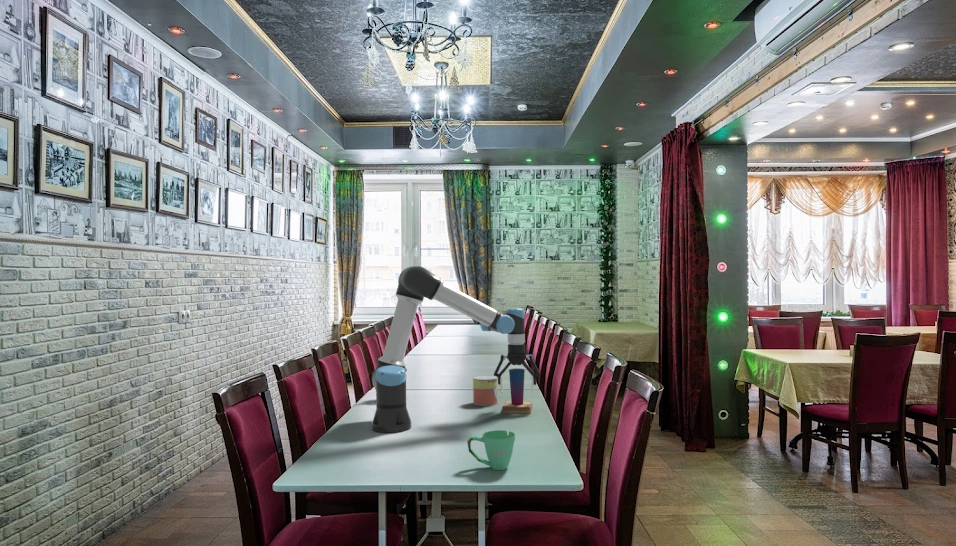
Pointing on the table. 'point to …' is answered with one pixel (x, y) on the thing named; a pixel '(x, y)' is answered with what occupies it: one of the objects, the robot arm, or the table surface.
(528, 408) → the board
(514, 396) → the cup
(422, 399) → the table surface
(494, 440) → the mug
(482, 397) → the canned food
